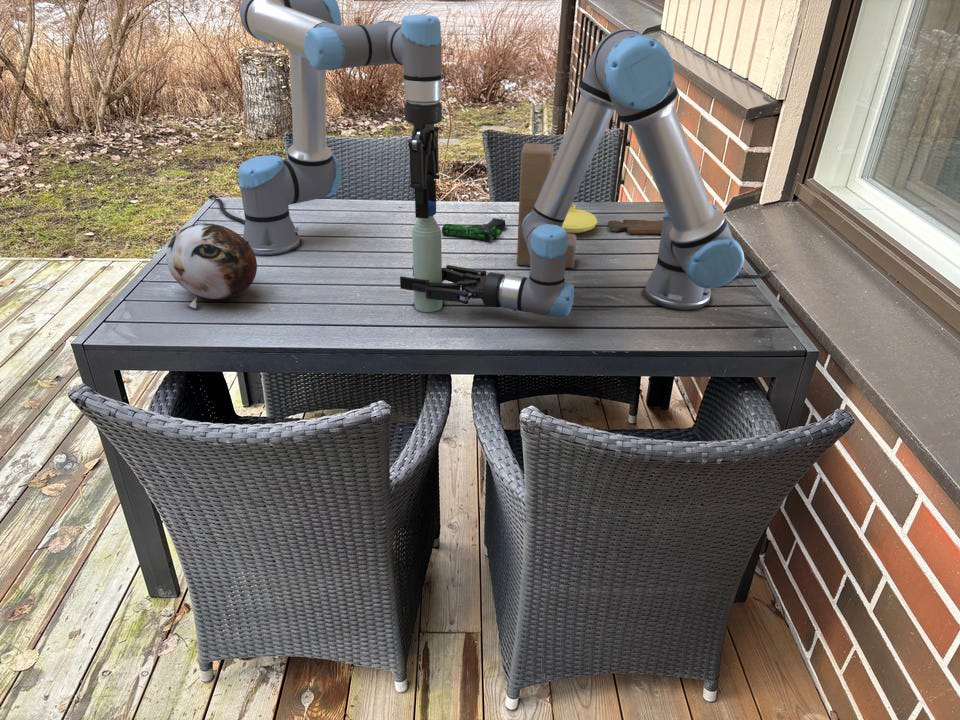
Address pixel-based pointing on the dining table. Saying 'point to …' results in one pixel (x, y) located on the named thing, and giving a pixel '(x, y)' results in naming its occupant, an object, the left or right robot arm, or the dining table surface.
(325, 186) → the left robot arm
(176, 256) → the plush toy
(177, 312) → the dining table surface
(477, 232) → the handgun
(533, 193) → the decorative block
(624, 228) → the wooden paddle board
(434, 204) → the cap
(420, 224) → the bottle
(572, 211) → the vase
